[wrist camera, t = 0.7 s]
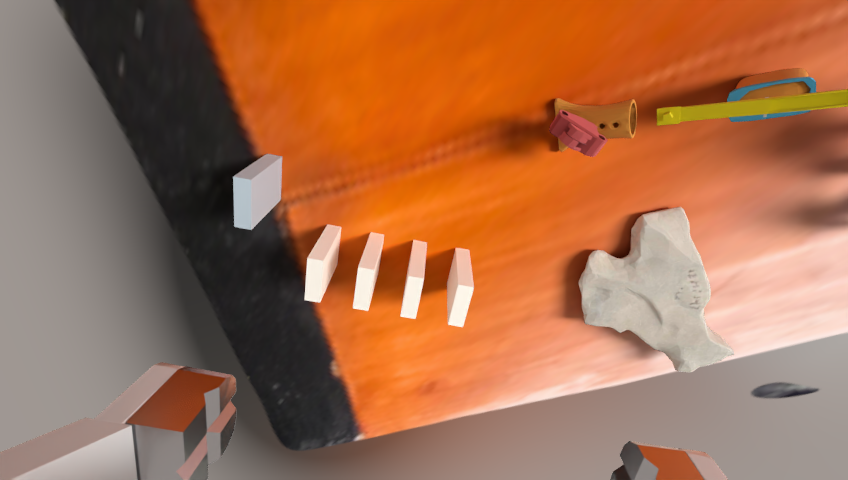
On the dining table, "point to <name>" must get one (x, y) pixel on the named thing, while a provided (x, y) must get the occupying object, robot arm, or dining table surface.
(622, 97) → the dining table surface
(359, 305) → the domino
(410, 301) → the domino
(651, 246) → the rock
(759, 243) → the dining table surface
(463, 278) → the domino
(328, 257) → the domino
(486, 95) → the dining table surface
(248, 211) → the domino
